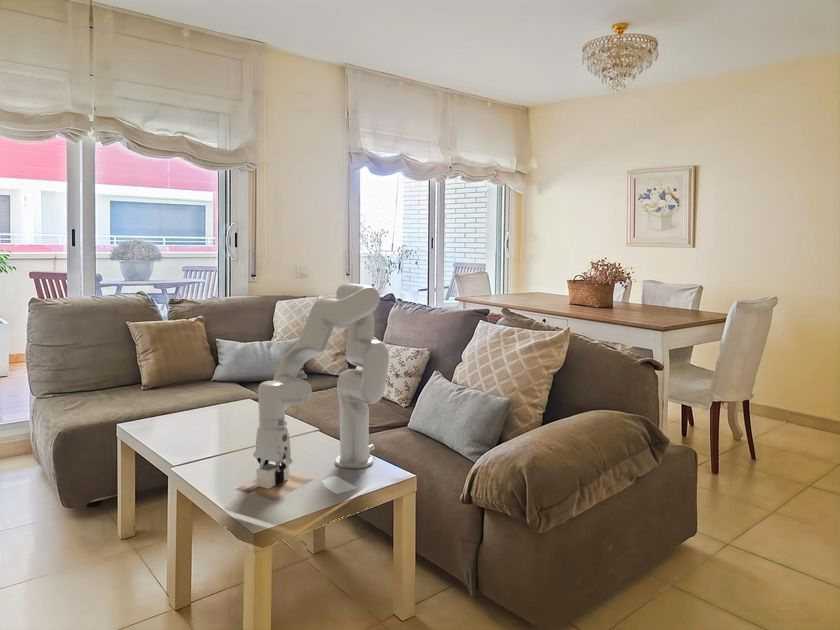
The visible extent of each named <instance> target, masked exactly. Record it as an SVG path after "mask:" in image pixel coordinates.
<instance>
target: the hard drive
mask: <svg viewBox="0 0 840 630" xmlns="http://www.w3.org/2000/svg"><path fill="white" fill-rule="evenodd" d="M321 483H323V487H325V488H326V489H328V490H330V491H331V492H332V493H335V494H337V495H339V494H342V493H344V492H345V493H346V492H349V491H352V490H355V489H357V487H356V485H353V484H352V483H349V481H348V482H347V481H346V480H344V479H342V478H340V477H339V476H336V475H331V476H329V477H327V478H325V479H322V481H321Z"/></svg>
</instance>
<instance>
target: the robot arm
mask: <svg viewBox="0 0 840 630" xmlns="http://www.w3.org/2000/svg"><path fill="white" fill-rule="evenodd" d="M335 297H336V298H326V297H325V298H323V297H322V298H319V299H317V300H316V301H315V302H314V303H313V304H312V306H311V309H310V311H309V313H308V316H307V319H306V322H305V325H304V327H303V328H302V330H301V331H302V332H301V334H300V336H299V339H298V341H296V344H294V345H293V346H292V347H291V348H290V350H289V351H287V353H286V354H285V355H284V356H283V357H282V359H281V360H280V362H279V363H278V366H277V369H276V370H275V374H274V375H273V380H266V381H262V382H261V383H260V384H259V385H258V389H257V390H258V394H257V395H258V427H257V431H256V438H255V451H254V452H253V453H252V455H253V457H254V458H255V459H256V461H257V463H258V464H259V468H261V467H263V466H265V465H267V464H270V462H275V465H276V470H277V471H276V472H275V484H276V485H278V484H280V483H282V482H284V470H285V469H286V467H287V466H288V465H289V466H290V465H291V464H293V460H292V458H291V454H292V453H291V440H290V434H289V433H290V432H289V430H288V429H289V428H288V427H286V426H287V425H288V422H287V421H286V418H285V417H286V416H285V415H286V414H285V413H286V407H285V405H286V406H287V405H301V404H304V403H306V402H307V401H309V400H310V399H311V397H312V395H313V389H312V386H311V384H310V383H309V382H308V381H307V380H305V379H302V378H299V377H297V376H298V373H299V371H300V370H301V368H302V367H303V366H304V364H306V362H308V361H309V360H310V359H313V358H315V357H317V356H319V355H321V354H323V353H324V352H325V349H326V347H327V345H328V344H329V343H328V342H329V341H330V340H329V339H330V337H331V334H332V332H333V331H334V328H338V329H339V328H340V329H342V328H346V327H348V331H347V338H346V347H345V358H346V359H345V360H346V361H347V362H348V363H349V364H351V365H353V366H355V367H359V368H362V370H361V369H355V368H349V369H346V370H344V371H342V372H341V373H340V374H339V376H338V378H337V383H336V389H337V390H336V391H337V394H338V401H339V455H338V456H337V457H336V458H335V464H336V466H338V467H340V468H342V469H349V470H350V469H351V470H355V469H356V470H357V469H358V470H359V469H363V468H368V467H369V466H371V465H373V463H374V457H373V456H372V455H371V454H370V453H371V451H373V450H375V448H376V446H375V444H373V443H372V444H370V442H369V438H370V437H369V435H370V434H369V431H370V430H369V427H370V424H369V422H370V421H369V420H370V419H369V417H370V413H369V411H370V410H369V405H372V404H373V405H374V404H377V403H378V402H380V400H381V399H382V398H383V396H384V393H385V390H386V389H385V388H386V384H387V377H388V371H389V362H390V361H389V360H390V354H389V350H388V347H387V346H386V344H385V343H383V342H382V341H380V340H378V339H376V340H375V339H374V337H375V336H374V335H375V326H376V325H375V324H376V323H375V317H374V313H373V312H374V311H375V310H376V309H377V308H378V306H379V304H380V301H381V296H380V292H379V291H378V290H377V289H376V288H375V287H373V286H371V285H368V284H367V285H365V284H358V283H343V284H340V285H339V286H338V288H337V289H336V292H335ZM280 463H281V466H280Z"/></svg>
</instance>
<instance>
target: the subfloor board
mask: <svg viewBox="0 0 840 630" xmlns="http://www.w3.org/2000/svg"><path fill="white" fill-rule="evenodd" d="M314 480H315V478H313V477H309V476H303V475H300V474H297V473H296V474H295V473H292V472H289V479H287V480H285V481H284V482H282V483H280V484H278V485H275V486H273V487H271V488H269V489H268V488H264V487H260V486H257V478H256V479H254V480H252V481H249V482H248V483H245V484H243V485H242V486H239V487H237V488H235V490H236V491H240V492H244V493H247V494H250V495H254V496H258V497H262V498H264V499H268V500H271V501H276V500H278V499H279V498H281V497H283V496H286V495H287V494H289V493H291V492H292V491H294V490H297V489H298V488H300V487H302V486H304V485H306V484H308V483H310V482H312V481H314Z"/></svg>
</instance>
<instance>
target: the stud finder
mask: <svg viewBox="0 0 840 630" xmlns="http://www.w3.org/2000/svg"><path fill="white" fill-rule="evenodd" d="M280 466H281V463H280ZM289 466H290V465H288V466H287V467H286V469H285V470H284V481H285V480H287V479H289V473H290V472H289V468H290V467H289ZM276 471H277V470H276V465H275V462H273V461H271V462H269V464H267V465H265V466H263V467H261V468H260V467H259V468H257V469H256V479H257V486H260V487H264V488H268V489H269V488H271V487H273V486H275V485H276V484H275V472H276Z"/></svg>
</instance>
